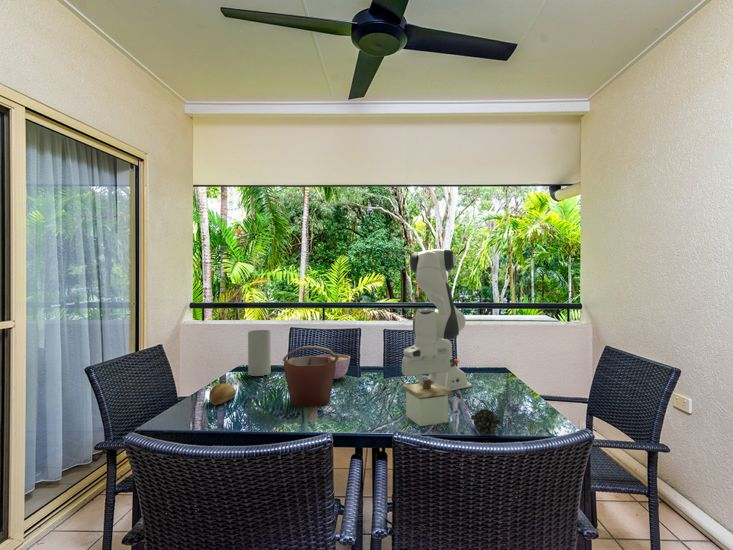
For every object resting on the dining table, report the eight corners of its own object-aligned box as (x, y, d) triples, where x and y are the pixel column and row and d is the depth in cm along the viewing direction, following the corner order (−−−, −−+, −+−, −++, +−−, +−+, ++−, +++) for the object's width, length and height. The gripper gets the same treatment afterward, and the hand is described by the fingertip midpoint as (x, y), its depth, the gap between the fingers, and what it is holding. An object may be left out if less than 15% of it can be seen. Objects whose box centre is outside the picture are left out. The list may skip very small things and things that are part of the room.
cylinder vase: (267, 377, 231) (267, 332, 231) (245, 377, 231) (245, 332, 231) (272, 372, 243) (272, 329, 243) (251, 372, 243) (251, 330, 244)
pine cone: (469, 398, 157) (484, 410, 142) (490, 405, 157) (506, 417, 142) (463, 420, 156) (477, 434, 141) (483, 427, 157) (499, 441, 142)
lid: (433, 387, 170) (433, 374, 170) (451, 396, 157) (451, 382, 157) (403, 390, 165) (402, 377, 165) (419, 400, 152) (419, 386, 152)
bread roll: (203, 406, 179) (203, 388, 179) (220, 396, 194) (220, 379, 194) (224, 407, 178) (224, 389, 178) (239, 397, 192) (239, 380, 192)
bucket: (345, 398, 190) (344, 343, 190) (324, 413, 169) (324, 352, 169) (297, 393, 198) (297, 341, 198) (273, 407, 177) (272, 349, 177)
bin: (432, 412, 169) (432, 388, 169) (448, 422, 157) (447, 395, 157) (406, 416, 164) (406, 391, 164) (420, 426, 153) (419, 399, 153)
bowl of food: (357, 376, 230) (357, 356, 230) (336, 384, 213) (336, 362, 214) (329, 372, 241) (329, 352, 241) (306, 379, 224) (306, 358, 224)
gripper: (445, 346, 168) (445, 380, 168) (399, 350, 161) (400, 385, 161) (453, 349, 162) (454, 384, 162) (406, 353, 155) (407, 389, 155)
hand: (426, 385), depth 161 cm, fingers closed on lid, 3 cm apart
